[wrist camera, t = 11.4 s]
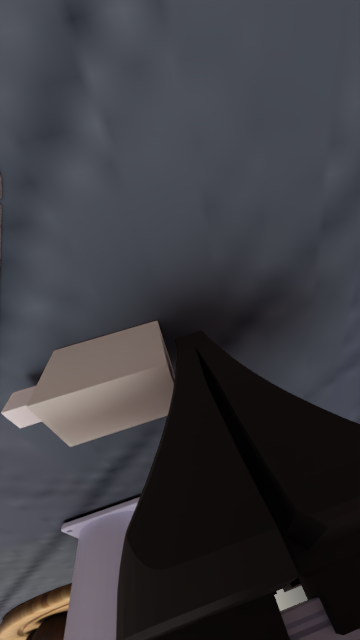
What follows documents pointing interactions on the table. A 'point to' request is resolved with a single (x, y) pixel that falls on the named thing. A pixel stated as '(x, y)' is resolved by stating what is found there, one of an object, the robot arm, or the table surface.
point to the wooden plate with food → (38, 617)
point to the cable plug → (99, 386)
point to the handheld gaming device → (0, 214)
